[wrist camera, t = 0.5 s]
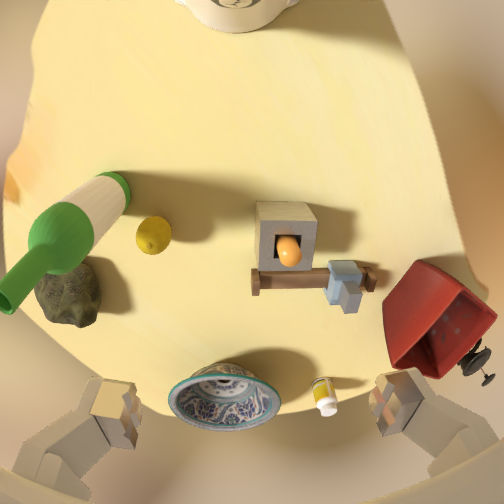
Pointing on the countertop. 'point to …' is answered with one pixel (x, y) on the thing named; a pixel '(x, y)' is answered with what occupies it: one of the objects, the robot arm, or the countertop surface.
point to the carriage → (344, 285)
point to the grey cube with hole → (284, 233)
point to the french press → (476, 362)
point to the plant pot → (432, 320)
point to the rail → (302, 279)
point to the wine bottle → (65, 235)
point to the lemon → (153, 235)
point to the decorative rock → (70, 296)
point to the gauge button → (288, 250)
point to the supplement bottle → (325, 396)
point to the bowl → (224, 399)
